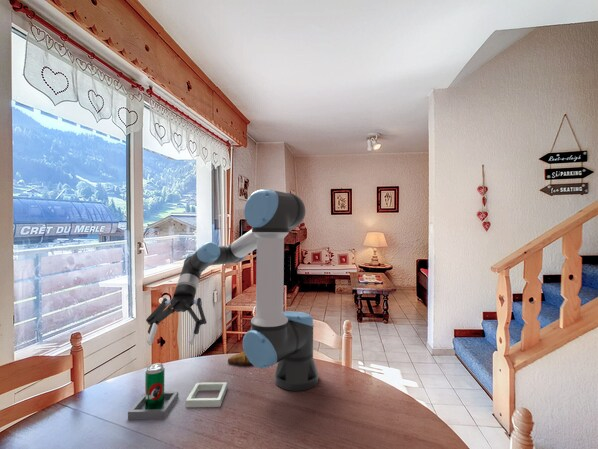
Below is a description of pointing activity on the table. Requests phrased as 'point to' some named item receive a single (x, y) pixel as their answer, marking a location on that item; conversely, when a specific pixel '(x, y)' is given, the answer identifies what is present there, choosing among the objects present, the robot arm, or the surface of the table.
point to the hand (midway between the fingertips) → (169, 343)
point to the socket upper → (153, 413)
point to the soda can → (154, 386)
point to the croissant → (239, 359)
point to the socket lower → (206, 402)
